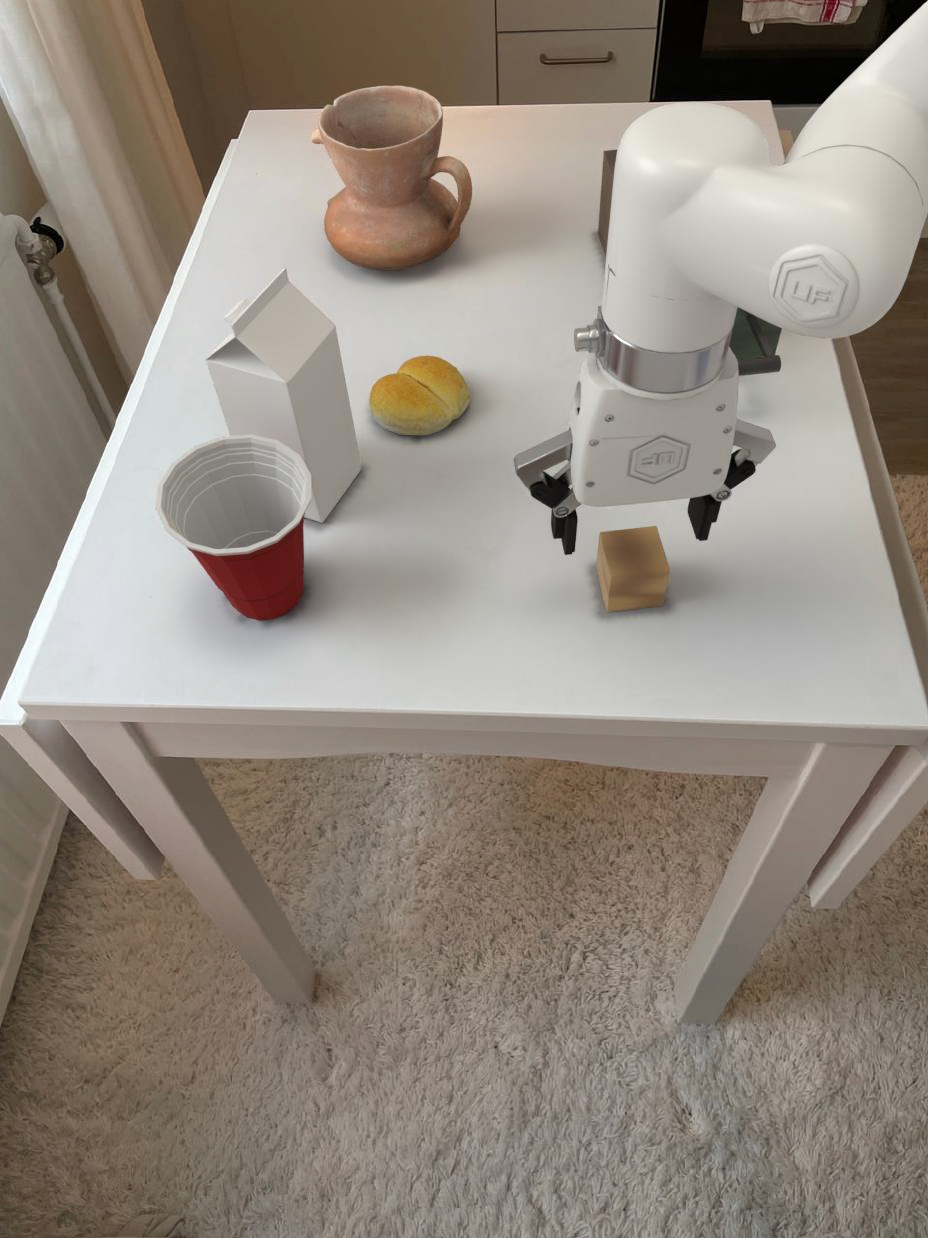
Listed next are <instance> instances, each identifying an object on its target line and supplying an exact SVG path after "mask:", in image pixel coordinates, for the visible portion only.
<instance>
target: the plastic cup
mask: <svg viewBox="0 0 928 1238" xmlns="http://www.w3.org/2000/svg"><path fill="white" fill-rule="evenodd" d="M310 501H311V474H310V472H309V470H308V468H307V467H306V465H305V463H304V461H303V460H302V458H301V456H300V455H299V454H298V453H296V452H295V451H293V450H292V449H290V448H289V447H287V446H286V445H284V444H283V443H281V442H280V441H277V440H273V439H269V438H265V437H260V436H256V435H236V436H230V435H224V436H219V437H216V438H214V439H211V440H209V441H205V442H203V443H200V444H197V445H194V446H193V447H192V448H190V449H189V450H188V451H186V452H185V453H184V454H182V455H181V456H180V457H179V458H177V459H176V460H174V461H173V462H172V463H171V464H170V466H169V467H168V469H167V470H166V472H165V473H164V475H163V477H162V478H161V480H160V481H159V483H158V484H157V492H156V502H155V510H156V513H157V515H158V517H159V520H160V521H161V524H162V526H163V528H164V531H165V532H167V534H169V535H170V536H171V537H173V538H174V539H176V541H178V542H179V543H181V544H182V545H183V546H185V548H187V550H188V551H190V552H191V553H192V554H193V556H194V557H195V559H196V560H197V562H198V563H199V564H200V566H201V567H202V569H204V571H205V572H206V574H207V575H208V576H209V578H210V579H211V581H212V582H213V583H214V585H215V586H216V587H217V589H219V591H221V592H222V593H223V595H224V596H225V597H226V599H227V600H228V602H229V603H230V605H231V606H232V608H234V609H235V610H236V611H238V612H239V613H240V614H241V615H243V616H244V617H246V618H248V619H253V620H257V621H266V620H274V619H277V618H279V617H281V616H284V615H286V614H288V613H290V611H292V610H293V609H294V608H295V607H296V606H297V605H298V604H299V602H300V600H301V598H302V596H303V594H304V590H305V571H304V570H305V569H304V568H305V541H304V540H305V539H304V538H305V537H304V536H305V535H304V523H305V517H304V515H305V511H306V509H307V507H308V505H309V503H310Z"/></svg>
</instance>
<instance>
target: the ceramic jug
mask: <svg viewBox="0 0 928 1238" xmlns="http://www.w3.org/2000/svg"><path fill="white" fill-rule="evenodd" d="M317 122H318V127H317V128H315V129H314V130H313V132H312V134H311V135H310V141H311V143H313V144H315V145H320V144H321V145H323V146H324V149H325V151H326V153H327V155H328V157H329V158H330V160H331V163H332V164H333V166H334V169H335V170H336V172H337V174H338V176H339V178H340V179H341V181H342V183H343V184H344V185H345V187H343V188H342V189H341V190H340V191H339V192H338V193H336V194H335V195H334V196H333V197H331V198H330V199H328V200H327V202H326V204H327V207H326V211H325V214H324V219H323V221H324V222H323V227H324V232H325V236H326V239H327V241H328V242H329V244H330V246H331V247H332V248H333V250H334V251H335V253H337V254H338V256H340V257H341V258H343V259H344V260H345V261H348V262H349V263H351V264H353V265H356V266H359V267H362V268H365V269H369V270H378V271H398V270H405V269H410V268H415V267H417V266H420V265H423V264H426V263H428V262H430V261H433V260H434V259H436V258H438V257H439V256H441V255H442V254H443V253H445V252H446V251H447V250H448V249H450V248H451V246H452V245H453V244H454V242H455V241H456V240H457V239H458V238H459V237H460V235H461V228H462V227H461V226H462V223H463V222H464V220H465V218H466V216H467V214H468V212H469V210H470V207H471V204H472V199H473V183H472V178H471V175H470V172H469V169H468V168H467V166H466V165H465V164H464V162H462V161H461V160H460V159H459V158H456V157H453V156H449V155H444V156H439V151H440V148H441V147H440V146H441V140H442V136H443V135H442V134H443V124H444V110H443V107H442V104H441V103H440V101H439V100H438V99H437V98H436V97H434V96H433V95H431V94H429V92H427V91H424V90H422V89H419V88H416V87H411V86H404V85H378V86H371V87H364V88H359V89H354V90H353V91H349V92H346V93H344V94H342V95H339V96H338V97H336V98H335V99H334V100H333V103H332V105H331V104H326V105H325V106H324V107H323V108H322V110H321V111H320V114H319V115H318V121H317ZM438 156H439V157H438ZM439 173H445V174H449V175H451V176H452V178H453V180H454V181H455V184H456V188H457V198H456V197H455V196H454V194H453V193H452V192H451V191H450V190H449V189H448V187H446V186H445V185H443V184H442V183H440V182H439V181H437V180H436V179H434V178H433V177H434V176H435V175H437V174H439Z"/></svg>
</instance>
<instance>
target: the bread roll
mask: <svg viewBox="0 0 928 1238" xmlns="http://www.w3.org/2000/svg"><path fill="white" fill-rule="evenodd" d="M470 391H471V390H470V389H469V386H468V384H467V381H466V379H465V377H464V376H463V375H462V374H461V371H459V369H458V368H457V367H456V366H455V365H453V364H452V363H450V362H449V361H447V360H445V359H443V358H441V357H439V356H435V355H419V356H415V357H412V358H409V359H407V360H406V361H404V362H403V363H402V364H401V366H399V368H398V370H397V371H396V372H395V373H389V374H386V375H384V376H382V377H380V378H378V380H377V381H375V383H374V384H373V385H372V387H371V390H370V393H369V406H370V410H371V413H372V416H373V418H374V419H375V420H376V422H377V423H378V425H379V426H381V427H382V428H383V429H385V430H387V431H389V432H392V433H394V434H398V435H402V436H428V435H432V434H435V433H437V432H440V431H442V430H443V429H445V428H447V427H449V426H450V424H451V423H452V422H453V421H454V420H457V419H458V418H460V417H461V416H462V415H463V413H464V412H466V410H467V408H468V407H469V404H470V402H471V400H472V396H471V392H470Z"/></svg>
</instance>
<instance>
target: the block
mask: <svg viewBox="0 0 928 1238" xmlns="http://www.w3.org/2000/svg"><path fill="white" fill-rule="evenodd" d="M595 563H596V564H595V571H596V575H597V579H598V584H599V588H600V591H601V595H602V600H603V603H604V608H605V612H606V613H612V612H620V611H621V612H622V611H627V610H628V611H629V610H630V611H631V610H638V609H647V608H656V607H657V608H658V607H663V606H664V602H665V596H666V594H667V593H666V592H667V587H668V582H669V576H670V572H671V568H670V565H669V562H668V558H667V555H666V551H665V549H664V545H663V542H662V538H661V535H660V532H659V529H658V526H657V525H652V526H651V525H650V526H643V527H633V528H625V529H624V528H623V529H616V530H606V531H600V532H599V533H598V543H597V554H596V562H595Z"/></svg>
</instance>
